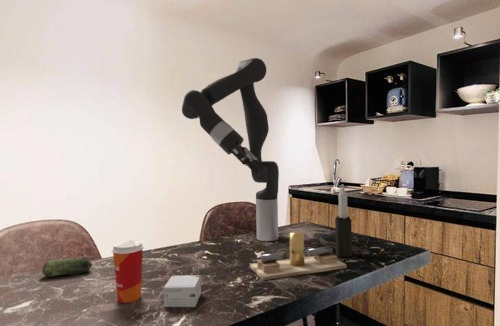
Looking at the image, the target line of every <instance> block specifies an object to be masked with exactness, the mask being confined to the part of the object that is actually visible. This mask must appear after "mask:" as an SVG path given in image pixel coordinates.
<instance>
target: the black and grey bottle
mask: <svg viewBox="0 0 500 326" xmlns="http://www.w3.org/2000/svg"><path fill="white" fill-rule="evenodd" d="M334 223H335V225H334V227H335V231H334V232H335V233H334V234H335V254H336V256H337V257H340V258H343V257H345V258H346V257H347V258H348V257H349V258H351V257H352V256H353V247H352V245H353V244H352V241H353V239H352V237H353V236H352V235H353V234H352V230H353V229H352V219H351V217H350V216H349V215H348V193H347V192H346V188H345V185H344V184H341V188H340V191H339V193H338V215H336V217H335V218H334Z"/></svg>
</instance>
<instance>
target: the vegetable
mask: <svg viewBox="0 0 500 326" xmlns="http://www.w3.org/2000/svg"><path fill="white" fill-rule="evenodd" d="M92 267H93V263H92V262H91V259H89V257H83V256H82V257H77V258H67V259H66V258H65V259H64V258H63V259H54V260H53V259H50V260H48V261H47V262H45V263H44V265H43V266H42V274H43V276H45V277H48V278H53V277H54V278H55V277H58V276H67V275H68V276H69V275H76V274H85V273H87V272H89V271H90V270H91V268H92Z"/></svg>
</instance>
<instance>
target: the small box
mask: <svg viewBox="0 0 500 326" xmlns="http://www.w3.org/2000/svg"><path fill="white" fill-rule="evenodd" d="M201 280H202V276H201V275H199V274H198V275H190V274H189V275H171V276H170V278H169V279H168V281H167V282H166V284H165V285H164V287H163V306H164V308H196V307H197V305H198V302H199V298H200V297H201V294H202V281H201Z"/></svg>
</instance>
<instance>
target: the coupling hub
mask: <svg viewBox="0 0 500 326" xmlns="http://www.w3.org/2000/svg"><path fill="white" fill-rule="evenodd" d="M288 233H289V237H288V238H289V259H290V265H292V266H297V267H299V266H304V265H305V257H306V256H305V232H304V231H299V230H293V231H290V232H288Z"/></svg>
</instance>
